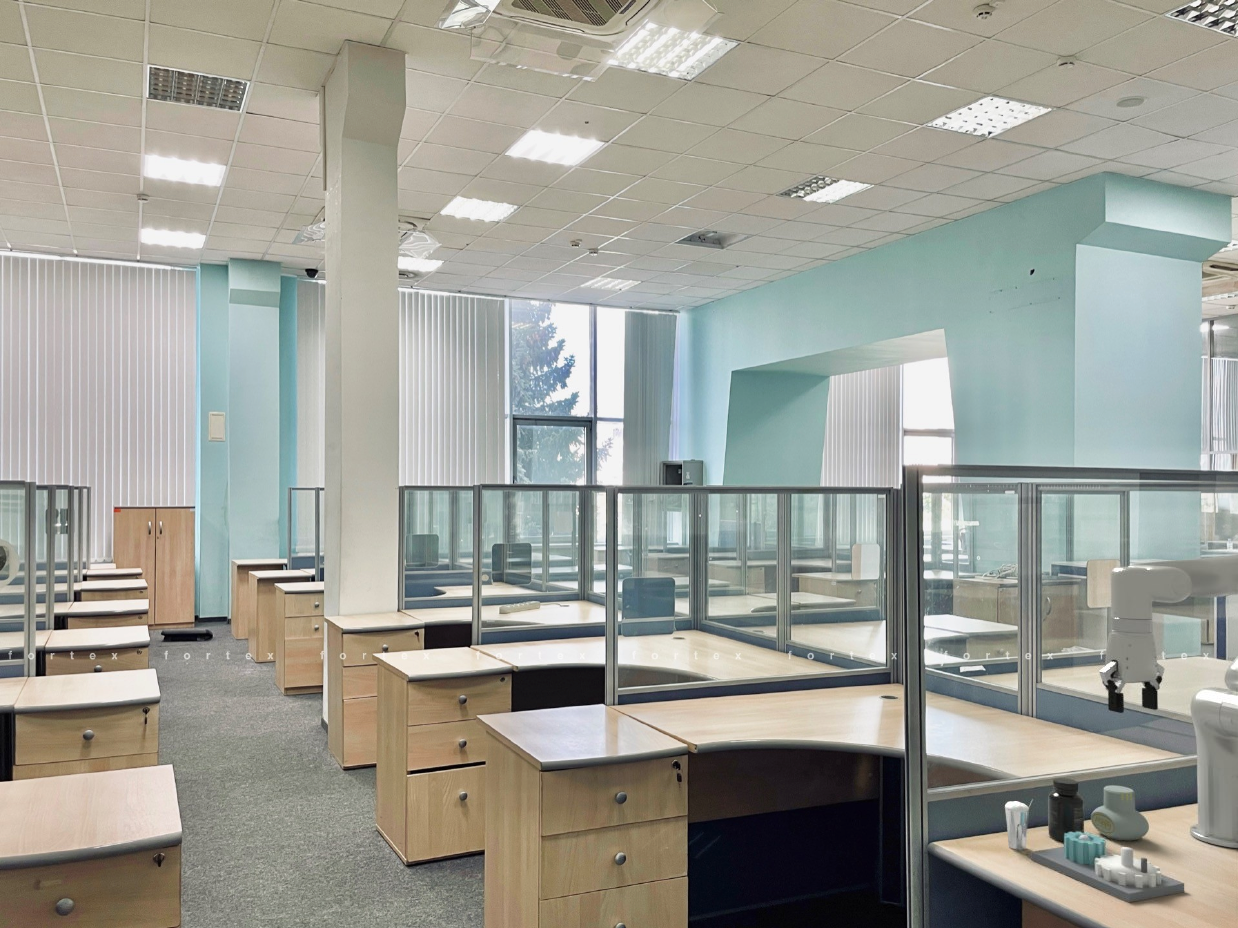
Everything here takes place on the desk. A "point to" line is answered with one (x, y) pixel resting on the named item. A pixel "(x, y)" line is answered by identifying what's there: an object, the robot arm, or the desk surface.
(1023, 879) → the desk surface
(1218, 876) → the desk surface
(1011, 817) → the milkshake
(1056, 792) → the supplement bottle
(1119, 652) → the robot arm
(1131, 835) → the air freshener
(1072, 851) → the gear
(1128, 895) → the gear board
